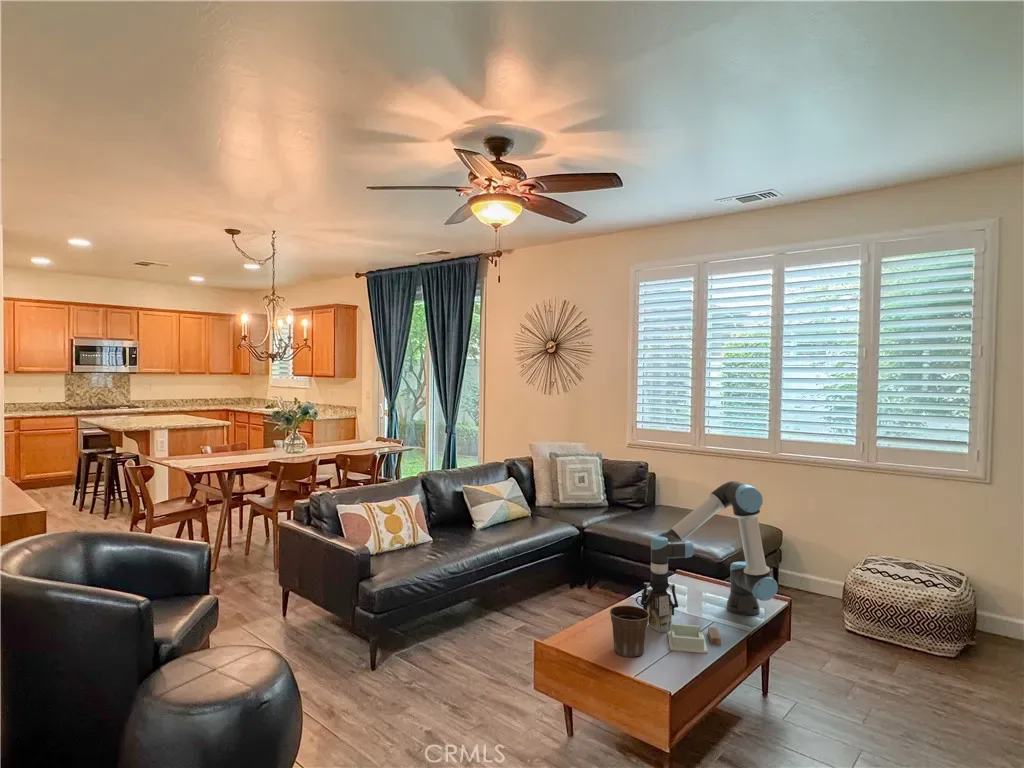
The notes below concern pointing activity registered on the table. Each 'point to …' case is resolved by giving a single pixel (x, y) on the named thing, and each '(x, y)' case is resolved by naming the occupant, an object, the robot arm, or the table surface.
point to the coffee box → (660, 612)
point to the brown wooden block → (714, 635)
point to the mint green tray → (687, 638)
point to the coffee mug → (645, 598)
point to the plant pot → (629, 630)
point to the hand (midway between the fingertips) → (659, 621)
